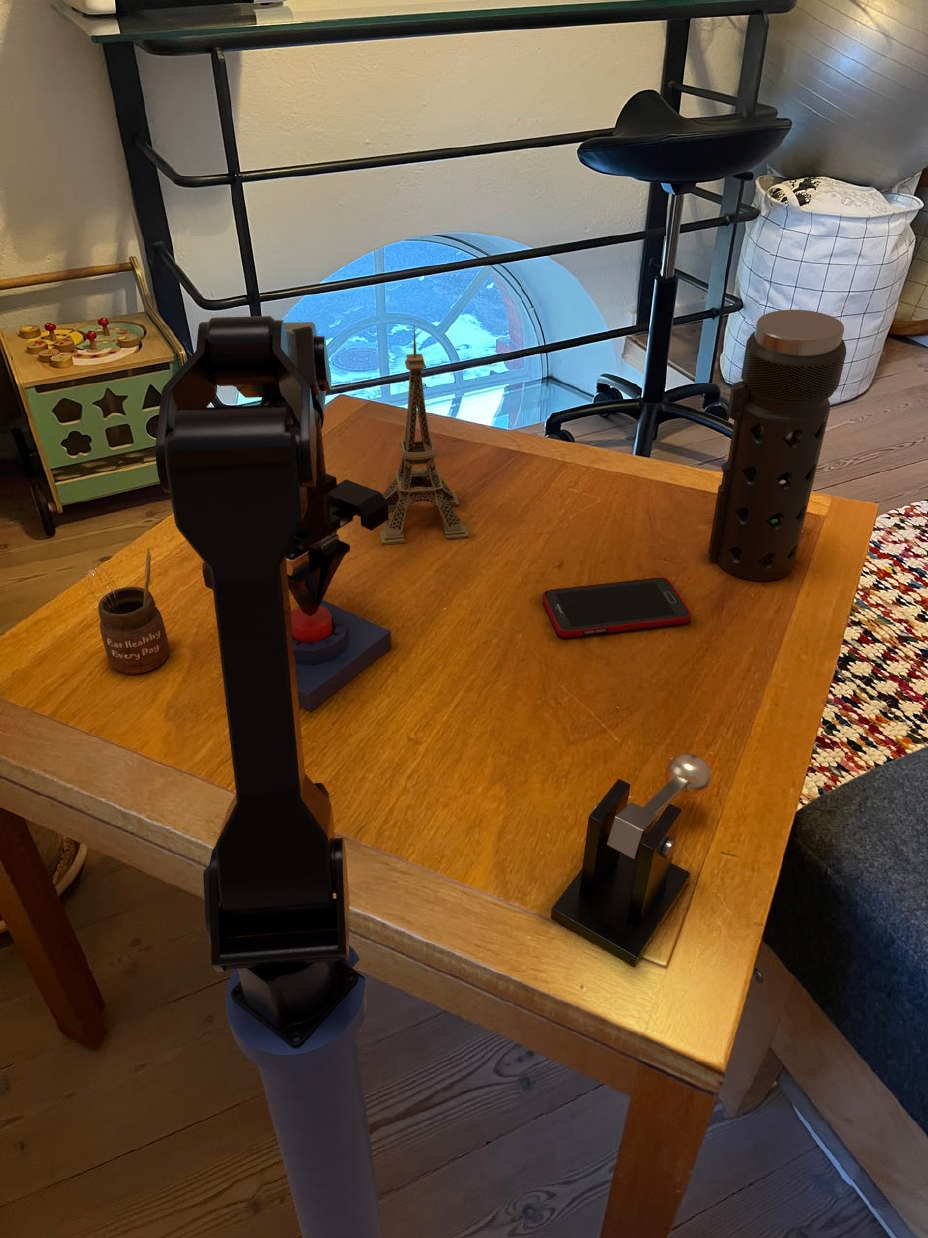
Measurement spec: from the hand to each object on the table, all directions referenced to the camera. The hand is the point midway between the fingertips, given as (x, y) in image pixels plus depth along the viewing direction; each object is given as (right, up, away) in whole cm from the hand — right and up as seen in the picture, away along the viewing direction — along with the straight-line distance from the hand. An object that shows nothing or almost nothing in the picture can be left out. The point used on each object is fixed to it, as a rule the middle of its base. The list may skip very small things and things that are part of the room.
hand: (309, 613), depth 89 cm
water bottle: (+48, +6, +18) cm, 52 cm away
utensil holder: (-18, -5, +4) cm, 19 cm away
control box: (0, -5, +3) cm, 6 cm away
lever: (+30, -16, -19) cm, 39 cm away
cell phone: (+31, 0, +10) cm, 33 cm away
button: (0, -2, +1) cm, 2 cm away
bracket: (+27, -22, -19) cm, 40 cm away
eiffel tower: (+10, +12, +26) cm, 30 cm away
